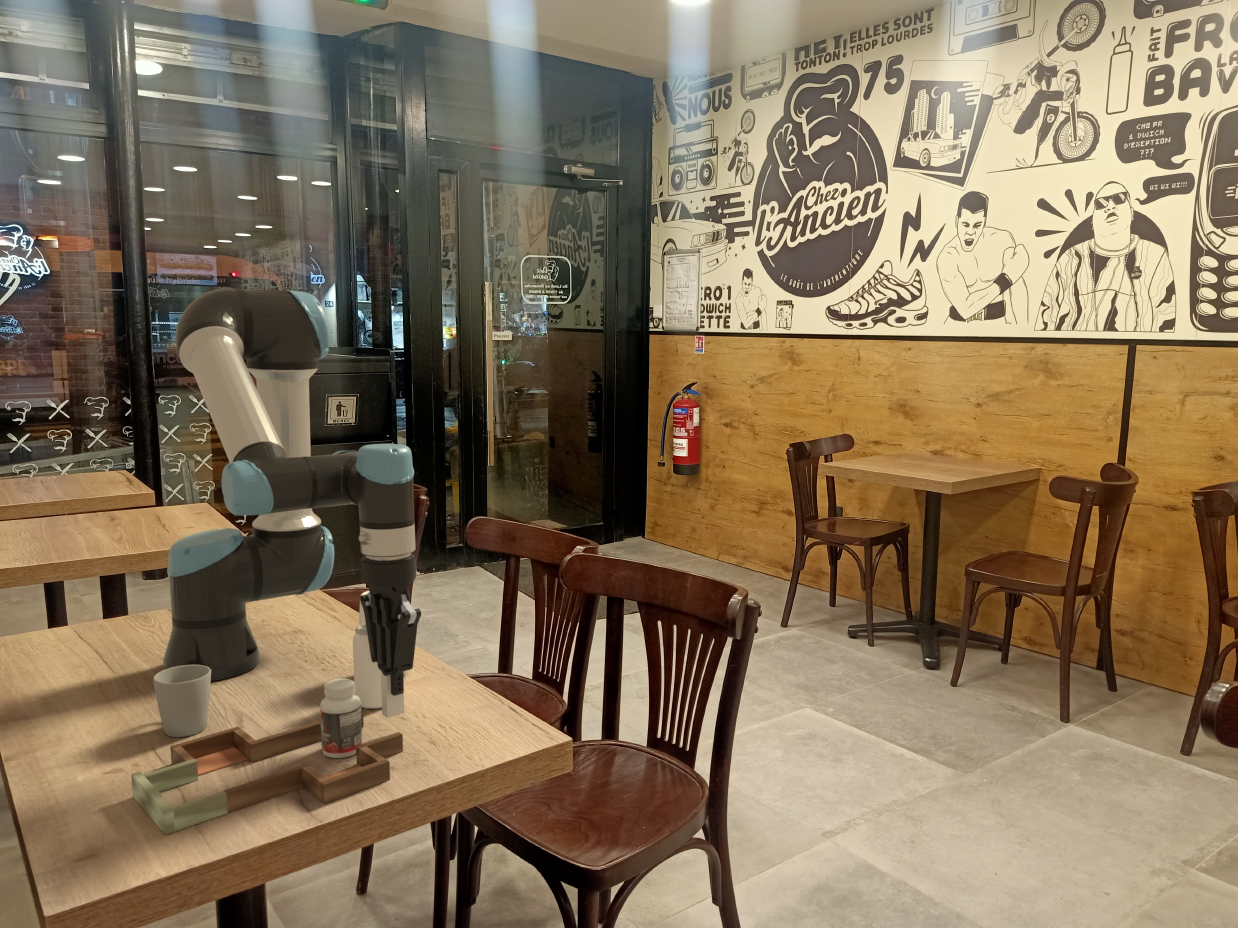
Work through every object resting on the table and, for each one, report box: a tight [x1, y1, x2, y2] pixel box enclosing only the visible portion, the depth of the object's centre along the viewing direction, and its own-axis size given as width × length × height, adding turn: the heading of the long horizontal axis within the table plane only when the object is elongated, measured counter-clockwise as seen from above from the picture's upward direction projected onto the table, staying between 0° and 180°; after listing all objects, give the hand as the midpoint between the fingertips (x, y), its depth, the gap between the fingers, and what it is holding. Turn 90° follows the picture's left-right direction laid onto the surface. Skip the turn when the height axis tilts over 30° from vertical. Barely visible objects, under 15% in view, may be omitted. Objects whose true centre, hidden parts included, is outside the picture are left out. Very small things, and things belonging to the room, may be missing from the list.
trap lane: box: [130, 709, 404, 835], centre depth 119 cm, size 24×31×3 cm
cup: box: [152, 665, 212, 738], centre depth 133 cm, size 8×10×8 cm
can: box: [352, 624, 382, 710], centre depth 142 cm, size 6×6×12 cm
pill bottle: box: [319, 677, 363, 759], centre depth 125 cm, size 5×5×10 cm
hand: (393, 713), depth 131 cm, fingers closed
